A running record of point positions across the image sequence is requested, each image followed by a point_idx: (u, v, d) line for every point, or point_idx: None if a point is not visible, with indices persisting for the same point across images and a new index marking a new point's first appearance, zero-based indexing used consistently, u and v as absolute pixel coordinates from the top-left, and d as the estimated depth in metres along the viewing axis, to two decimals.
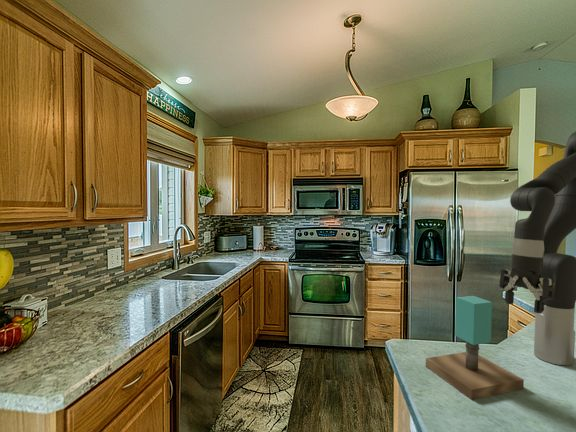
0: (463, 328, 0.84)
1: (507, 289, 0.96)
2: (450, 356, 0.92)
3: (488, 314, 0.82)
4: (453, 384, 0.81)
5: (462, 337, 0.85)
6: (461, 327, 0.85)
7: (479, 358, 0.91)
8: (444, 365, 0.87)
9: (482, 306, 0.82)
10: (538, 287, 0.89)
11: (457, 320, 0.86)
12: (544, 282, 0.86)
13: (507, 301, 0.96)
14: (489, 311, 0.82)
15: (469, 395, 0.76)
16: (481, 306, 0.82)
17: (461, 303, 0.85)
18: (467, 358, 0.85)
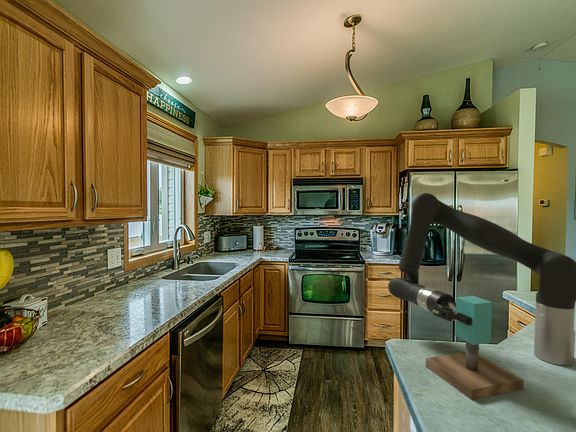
0: (463, 328, 0.84)
1: None
2: (450, 356, 0.92)
3: (488, 314, 0.82)
4: (453, 384, 0.81)
5: (462, 337, 0.85)
6: (461, 327, 0.85)
7: (479, 358, 0.91)
8: (444, 365, 0.87)
9: (482, 306, 0.82)
10: None
11: None
12: None
13: None
14: (489, 311, 0.82)
15: (469, 395, 0.76)
16: (481, 306, 0.82)
17: (461, 303, 0.85)
18: (467, 358, 0.85)
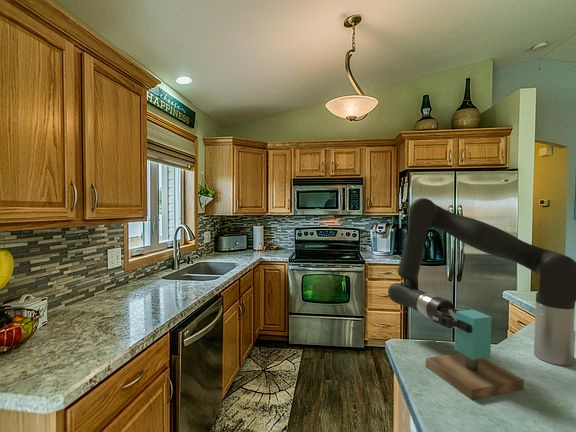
0: (462, 342, 0.85)
1: None
2: (450, 356, 0.92)
3: (488, 329, 0.82)
4: (453, 384, 0.81)
5: (462, 351, 0.85)
6: (461, 341, 0.85)
7: None
8: (444, 365, 0.87)
9: (482, 321, 0.82)
10: None
11: (457, 334, 0.86)
12: None
13: None
14: (488, 326, 0.82)
15: (469, 395, 0.76)
16: (481, 321, 0.82)
17: (461, 317, 0.85)
18: (467, 358, 0.85)
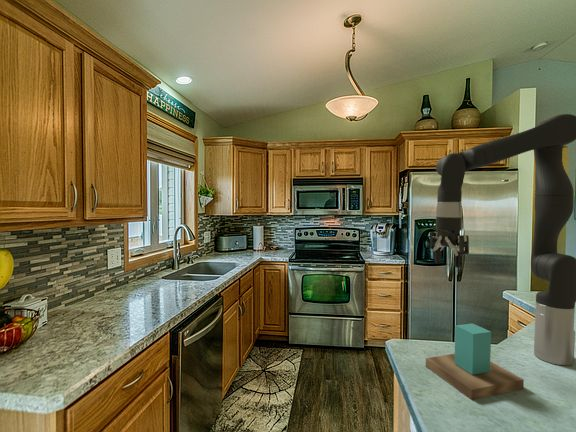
0: (462, 356, 0.85)
1: (435, 249, 1.05)
2: (450, 356, 0.92)
3: (487, 344, 0.83)
4: (453, 384, 0.81)
5: (461, 366, 0.85)
6: (460, 356, 0.85)
7: None
8: (444, 365, 0.87)
9: (481, 336, 0.82)
10: (458, 244, 0.98)
11: (456, 348, 0.87)
12: (460, 239, 0.95)
13: (435, 260, 1.05)
14: (488, 341, 0.83)
15: (469, 395, 0.76)
16: (480, 336, 0.82)
17: (460, 332, 0.85)
18: None
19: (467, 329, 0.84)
